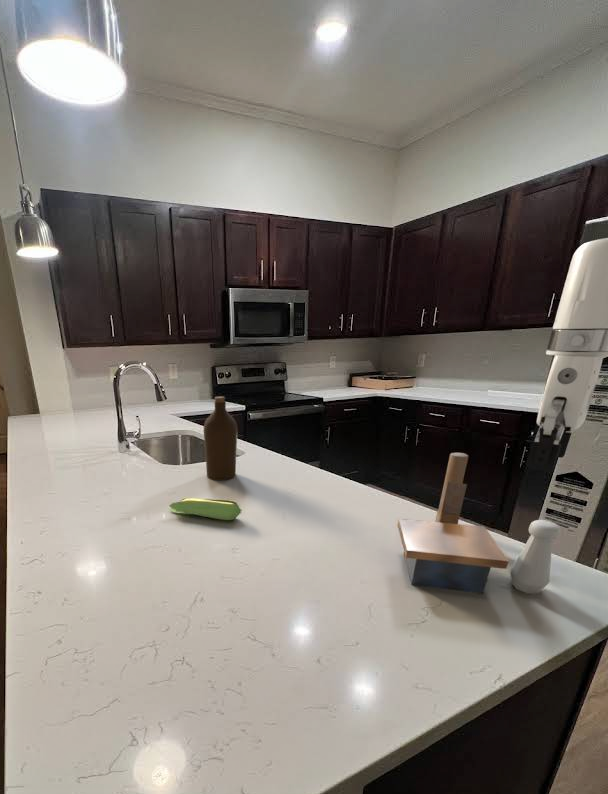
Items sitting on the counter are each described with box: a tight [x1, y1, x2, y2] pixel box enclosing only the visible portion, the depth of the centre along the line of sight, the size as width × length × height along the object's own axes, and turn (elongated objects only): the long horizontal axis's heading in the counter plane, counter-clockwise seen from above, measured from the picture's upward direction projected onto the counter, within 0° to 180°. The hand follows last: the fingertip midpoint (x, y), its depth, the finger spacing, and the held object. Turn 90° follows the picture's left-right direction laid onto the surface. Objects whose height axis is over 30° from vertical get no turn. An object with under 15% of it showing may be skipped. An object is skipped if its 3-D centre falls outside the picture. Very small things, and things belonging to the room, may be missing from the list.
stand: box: [397, 518, 509, 594], centre depth 80 cm, size 16×14×8 cm
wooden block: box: [434, 452, 469, 524], centre depth 93 cm, size 4×11×18 cm, turn 156°
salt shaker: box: [509, 519, 562, 594], centre depth 74 cm, size 6×6×13 cm
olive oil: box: [203, 396, 239, 481], centre depth 132 cm, size 11×11×25 cm
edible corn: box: [168, 497, 243, 522], centre depth 107 cm, size 5×20×5 cm, turn 71°
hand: (545, 462), depth 65 cm, fingers open, 9 cm apart
